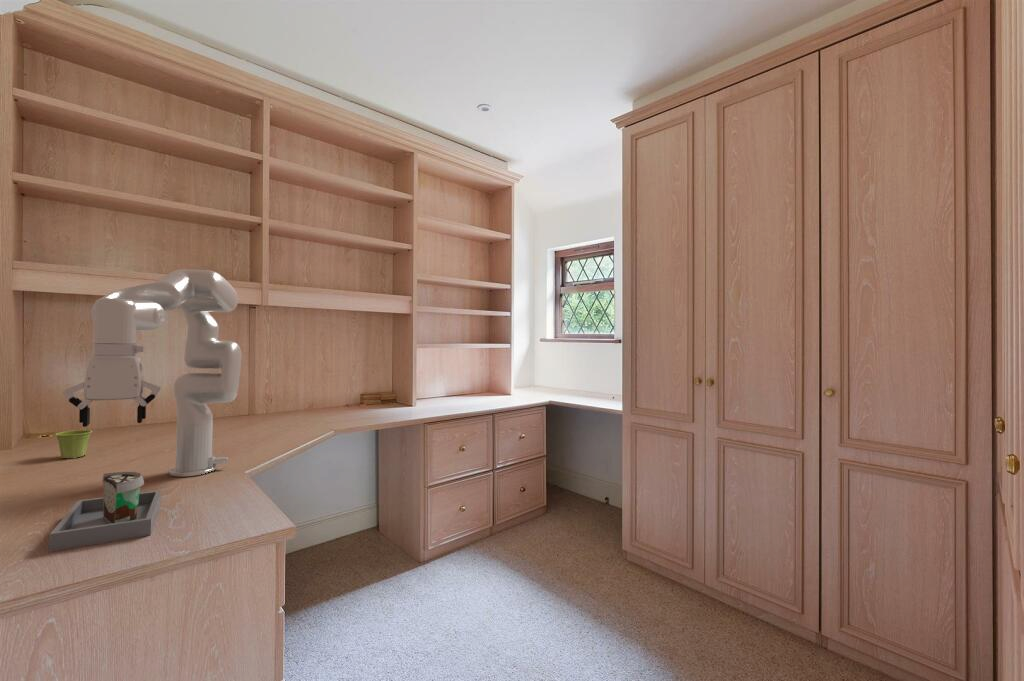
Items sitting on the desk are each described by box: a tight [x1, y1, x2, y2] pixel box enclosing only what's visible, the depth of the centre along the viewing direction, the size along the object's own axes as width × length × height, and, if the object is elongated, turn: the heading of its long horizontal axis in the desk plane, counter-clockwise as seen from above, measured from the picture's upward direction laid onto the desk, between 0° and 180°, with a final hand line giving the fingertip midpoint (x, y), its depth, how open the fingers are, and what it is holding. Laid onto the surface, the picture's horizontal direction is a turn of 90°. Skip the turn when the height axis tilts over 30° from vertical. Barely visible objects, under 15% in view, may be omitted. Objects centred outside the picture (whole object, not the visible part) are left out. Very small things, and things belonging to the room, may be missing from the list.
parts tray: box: [49, 489, 162, 552], centre depth 105 cm, size 16×22×4 cm
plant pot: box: [54, 429, 93, 459], centre depth 161 cm, size 9×9×9 cm
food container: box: [102, 471, 145, 524], centre depth 107 cm, size 12×6×10 cm, turn 53°
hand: (113, 423), depth 108 cm, fingers open, 9 cm apart
